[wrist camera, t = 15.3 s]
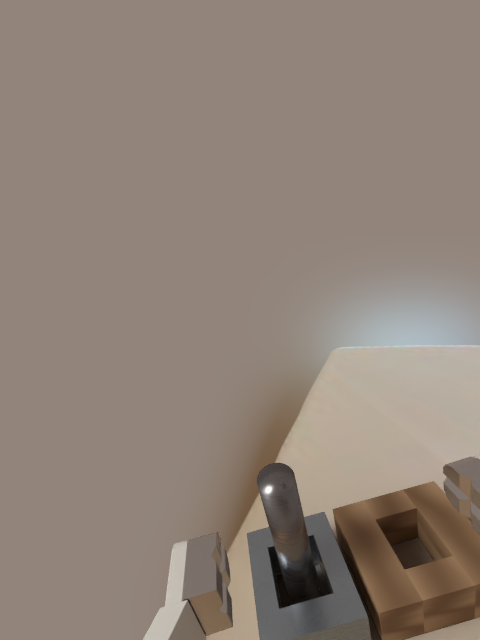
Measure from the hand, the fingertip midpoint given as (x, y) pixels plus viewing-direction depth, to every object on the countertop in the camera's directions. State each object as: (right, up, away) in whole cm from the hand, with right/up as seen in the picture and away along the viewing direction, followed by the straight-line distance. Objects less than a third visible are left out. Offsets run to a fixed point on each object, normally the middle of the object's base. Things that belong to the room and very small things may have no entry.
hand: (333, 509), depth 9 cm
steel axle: (+3, -22, +18) cm, 28 cm away
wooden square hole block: (+14, -19, +19) cm, 30 cm away
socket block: (+3, -22, +18) cm, 28 cm away
